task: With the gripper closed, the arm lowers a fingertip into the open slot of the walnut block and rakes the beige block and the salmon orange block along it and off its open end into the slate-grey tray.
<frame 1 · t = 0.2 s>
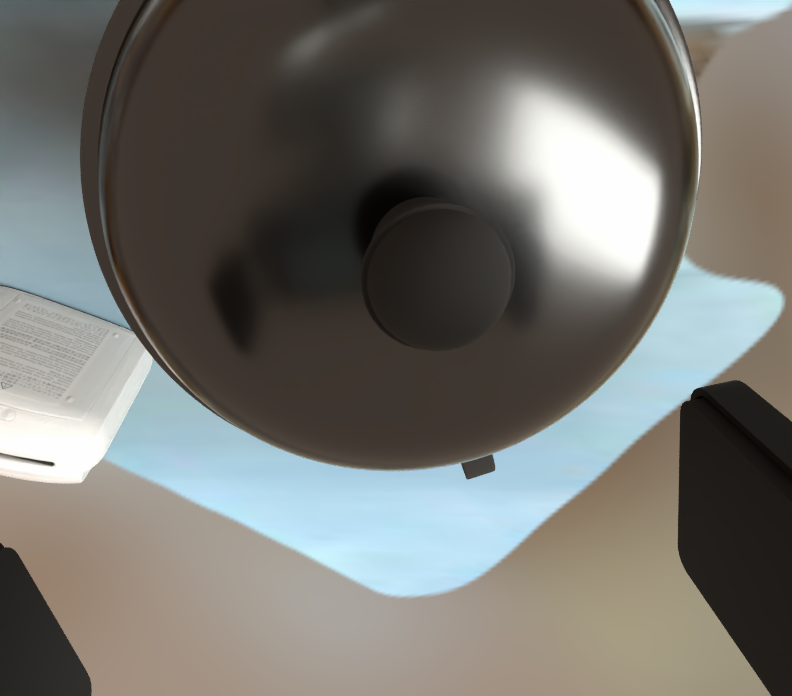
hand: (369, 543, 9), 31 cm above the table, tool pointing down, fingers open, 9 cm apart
coffee press: (364, 123, 37), on the table
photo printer: (69, 333, 40), on the table
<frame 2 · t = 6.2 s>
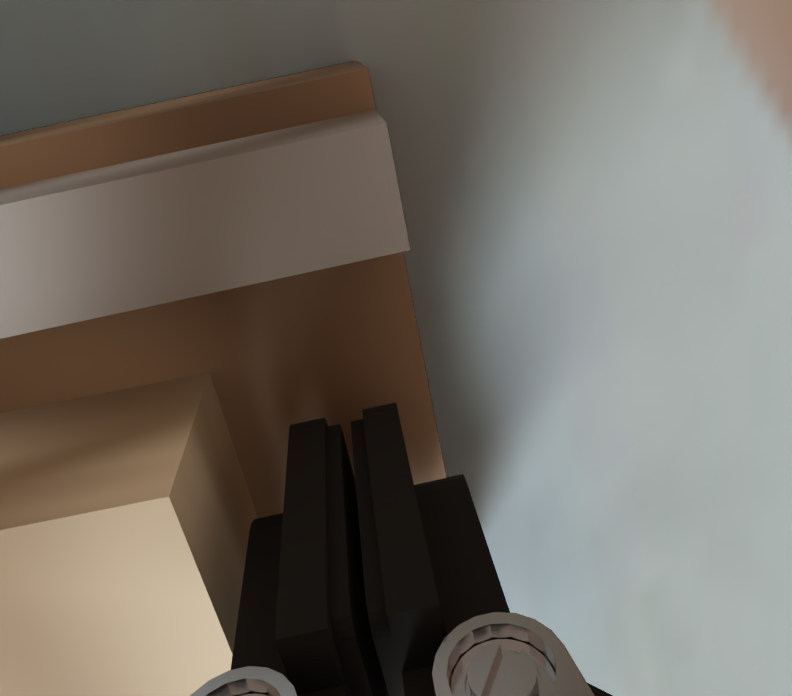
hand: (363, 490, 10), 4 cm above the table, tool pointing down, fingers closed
beige block: (115, 514, 11), point 3 cm above the table, touching gripper, slot block
slot block: (41, 449, 14), on the table
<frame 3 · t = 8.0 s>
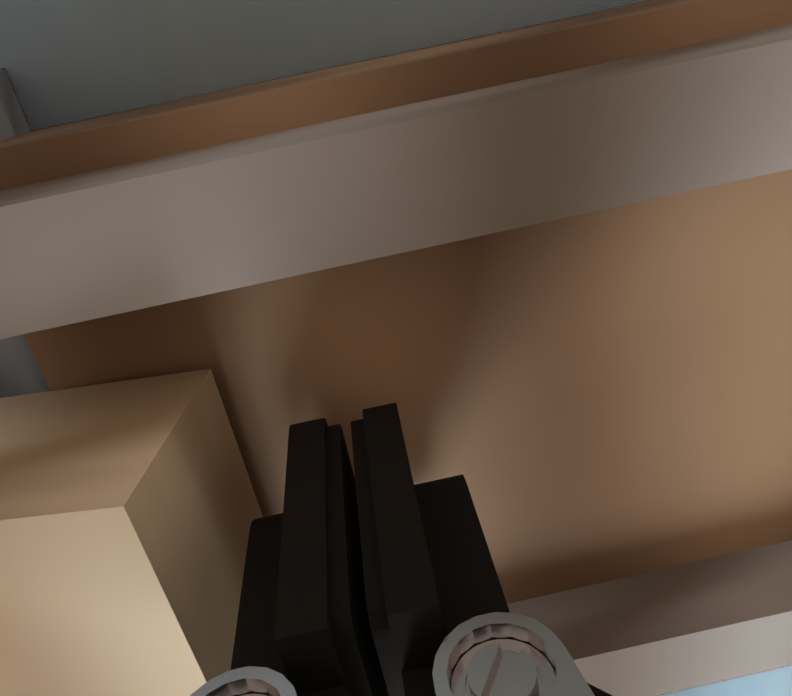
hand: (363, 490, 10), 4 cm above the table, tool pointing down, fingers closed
beige block: (124, 503, 11), point 3 cm above the table, tilted 9°, touching slot block
slot block: (525, 343, 14), on the table
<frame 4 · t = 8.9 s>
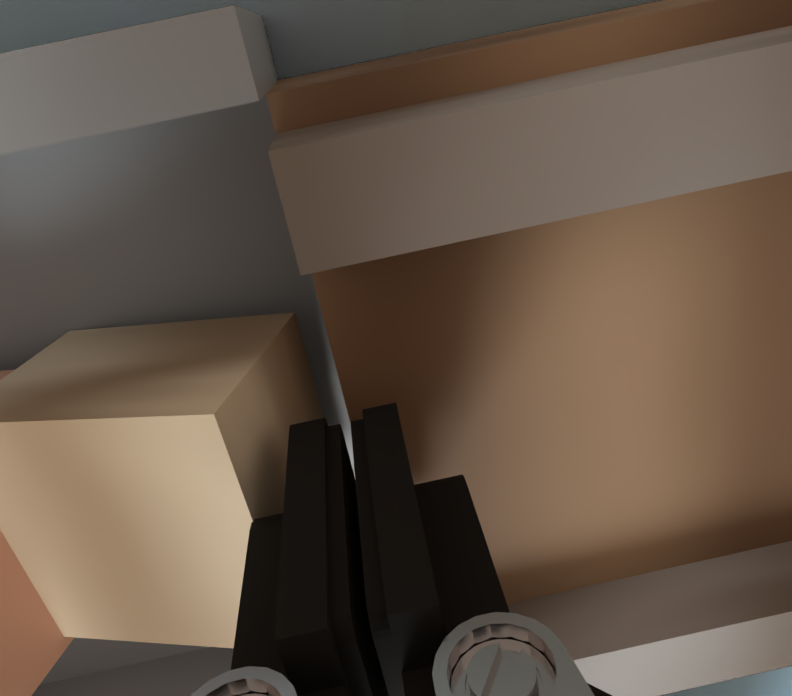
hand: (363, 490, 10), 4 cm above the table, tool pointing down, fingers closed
beige block: (215, 428, 12), point 1 cm above the table, tilted 18°, touching gripper, salmon orange block
salmon orange block: (2, 561, 10), point 4 cm above the table, tilted 108°, touching beige block
chip tray: (72, 441, 14), on the table
slot block: (720, 301, 14), on the table
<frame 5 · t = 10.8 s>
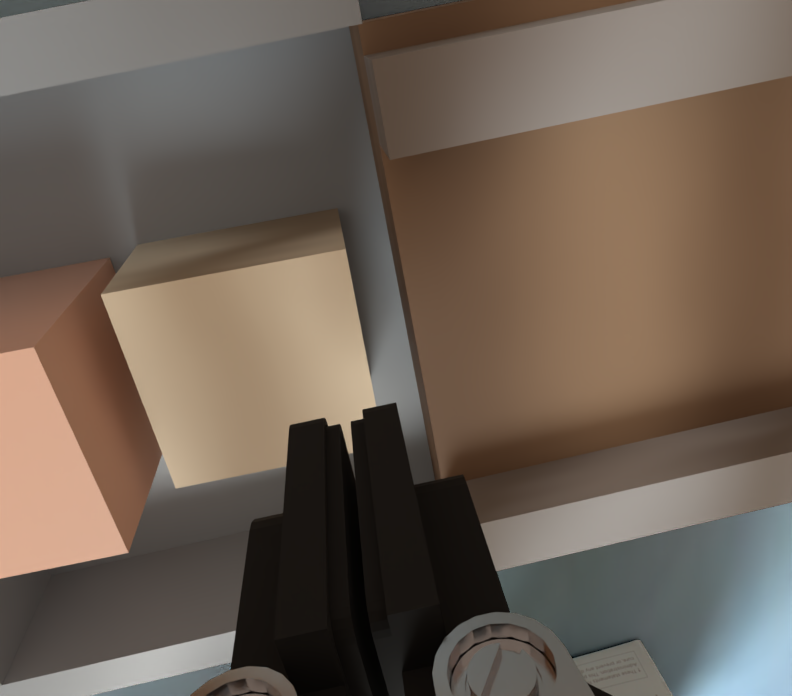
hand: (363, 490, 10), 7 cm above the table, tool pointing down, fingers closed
beige block: (262, 316, 16), point 1 cm above the table, touching chip tray
salmon orange block: (118, 394, 14), point 3 cm above the table, tilted 91°, touching chip tray
chip tray: (159, 338, 16), on the table
slot block: (703, 220, 17), on the table
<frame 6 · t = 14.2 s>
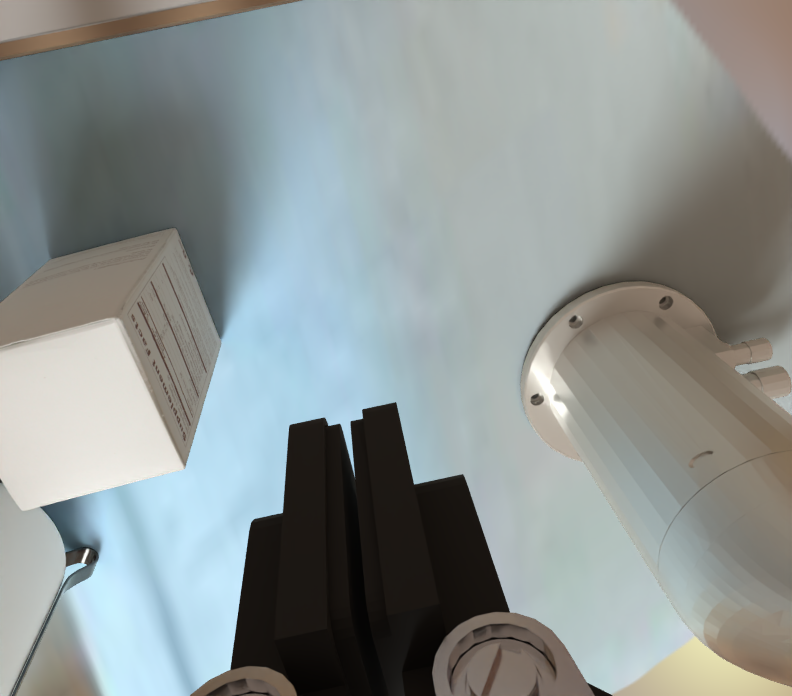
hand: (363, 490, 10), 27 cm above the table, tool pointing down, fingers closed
supplement box: (141, 301, 37), on the table
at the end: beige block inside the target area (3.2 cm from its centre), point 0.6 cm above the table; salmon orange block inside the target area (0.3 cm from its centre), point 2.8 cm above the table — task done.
